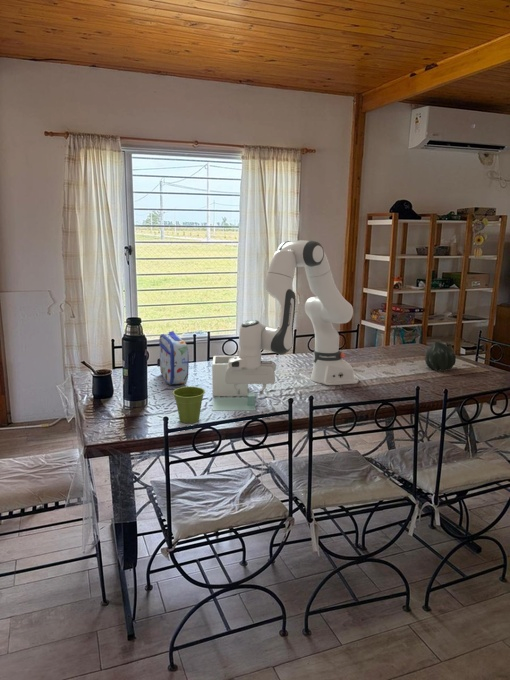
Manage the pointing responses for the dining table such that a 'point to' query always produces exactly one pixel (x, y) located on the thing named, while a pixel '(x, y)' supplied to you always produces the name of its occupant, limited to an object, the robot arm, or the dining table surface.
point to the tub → (219, 379)
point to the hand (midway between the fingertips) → (249, 393)
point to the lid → (235, 403)
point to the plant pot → (189, 403)
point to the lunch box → (173, 359)
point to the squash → (440, 357)
